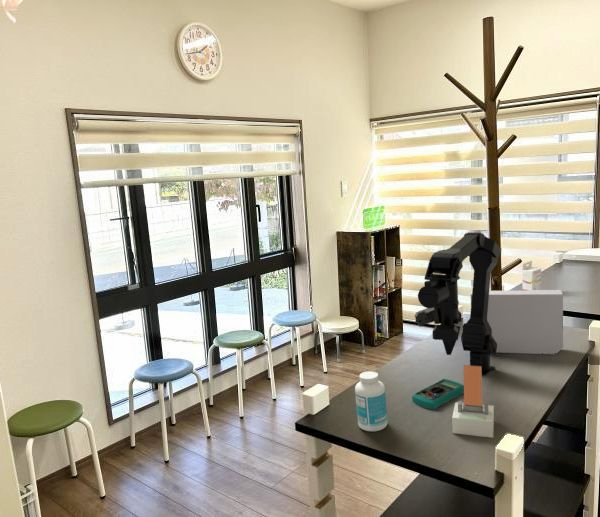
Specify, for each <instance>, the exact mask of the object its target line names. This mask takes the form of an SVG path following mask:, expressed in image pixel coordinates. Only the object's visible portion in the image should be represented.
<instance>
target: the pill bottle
mask: <svg viewBox="0 0 600 517" xmlns="http://www.w3.org/2000/svg"><path fill="white" fill-rule="evenodd" d="M379 378H380V377H379V373H378V372H376V371H369V370H368V371H363V372H361V373H360V374H359V382H357V383H356V384H355V387H354V393H355V403H356V406H355V407H356V415H357V416H356V417H357V418H356V419H357V424H358V427H359V428H360V429H361V430H364V431H366V432H378V431H382V430H384V429H385V428H386V427H387V425H388V424H389V423H388V408H387V399H386V398H387V397H386V396H387V395H386V386H385V384H384V383H383V382H382V381H380V380H379Z"/></svg>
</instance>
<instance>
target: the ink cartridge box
mask: <svg viewBox="0 0 600 517" xmlns="http://www.w3.org/2000/svg"><path fill="white" fill-rule="evenodd" d="M532 263H533V261H532V260H530V261H526V262H524V263H522V274H521V276H522V277H521V278H522V279H521V280H522V282H521V283H522V284H521V285H522V291H527V290H542V267H534V266H532Z"/></svg>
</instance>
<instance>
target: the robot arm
mask: <svg viewBox="0 0 600 517" xmlns="http://www.w3.org/2000/svg"><path fill="white" fill-rule="evenodd" d="M500 255H501V247H500V246H499V244H498V243H497V242H496V240H493V239H492V238H489V237H487V236H486V235H485V234H484V233H481V232H477V231H476V232H472V231H469V232H468V231H467V232H466V233H464V235H463V237H461V238H460V239H459V240H458V241H457V242H455V243H454V244H453V245H452V246H450V247H449V248H447V249H441V250H438V251H436V252H434V253H432V255H431V257H430V258H429V262H428V264H427V269H426V272H425V275H424V283H423V284H424V286H423V287H421V288H420V289H419V291H418V293H417V299H418V301H419V303H420V305H421V306H423V307H424V309H421V310H418V311H416V312H415V314H414V317H415V323H416V324H417V326H418V327H419V328H420V327H423V326H425V325H427V324H431V323H434V325H435V326H434V327H433V330H432V340H435V341H437V340H439V341H442V343H443V347H444V352H445V354H446V356H452V353H453V351H454V348H455V344H456V342H457V341H458V340H459V336H460V340H461V342H460V343H461V345H462V349H463V351H465V352H469V365H470V366H481V369H482V376H487V375H488V374H490V373H491V372H492V371H494V370H496V367H495V366H493V365H491V355H495V354H497V352H496V350H497V343H496V341H495V340H494V338H493V337H492V329H491V327H490V325H489V323H488V321H487V312H488V300H489V291H490V288H491V275H492V271H493V270H494V268H496V266H497V265H498V260H499V258H500ZM468 257H469V263H470V265H471V267H472V269H473V278H472V279H473V280H472V289H471V291H472V301H471V300H470V312H469V313H470V314H469V315H470V316H469V319H467V322H466V323H463V325H462V333H461V335H460V330H461V326H459V325H458V324H459V323H462V318H463V317H462V312H461V311H459V305H460V302H459V296H458V295H459V290H458V289H459V288H458V287H459V286H458V281H459V280H460V279H461V277H460V276H459V275H460V272H461V270H462V269H463V268H464V267H463V266H464V265H463V262H464V260H465V259H466V258H468Z"/></svg>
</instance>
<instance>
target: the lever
mask: <svg viewBox="0 0 600 517" xmlns="http://www.w3.org/2000/svg"><path fill="white" fill-rule="evenodd" d="M482 377H483V375H482V369H481V366H470V364H467V365H466V364H463V385H464V393H463V403H464V404H463V411H472V412H483V406H482V405H483V384H482V381H483V379H482Z"/></svg>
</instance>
